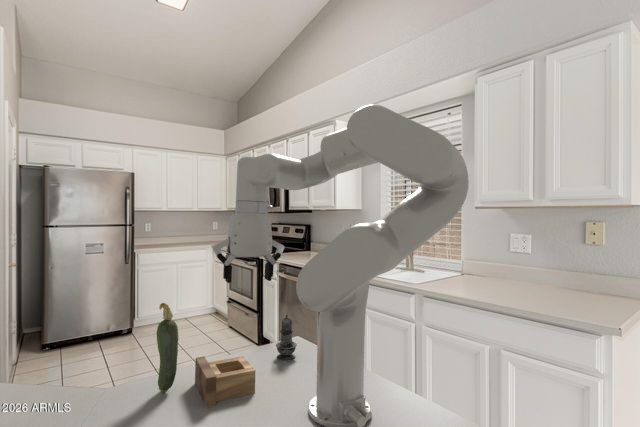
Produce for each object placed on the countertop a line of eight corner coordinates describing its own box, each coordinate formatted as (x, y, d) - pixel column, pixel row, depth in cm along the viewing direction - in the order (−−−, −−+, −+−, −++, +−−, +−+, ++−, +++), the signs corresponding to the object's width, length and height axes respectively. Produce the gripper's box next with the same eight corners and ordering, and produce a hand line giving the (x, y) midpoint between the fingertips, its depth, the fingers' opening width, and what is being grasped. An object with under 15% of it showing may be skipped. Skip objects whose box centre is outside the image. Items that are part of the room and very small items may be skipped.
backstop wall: (215, 405, 74) (216, 376, 74) (205, 407, 73) (206, 378, 73) (203, 381, 84) (204, 356, 84) (194, 383, 83) (195, 357, 83)
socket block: (254, 392, 79) (255, 370, 79) (214, 402, 75) (214, 378, 75) (242, 376, 87) (243, 356, 87) (205, 384, 83) (205, 362, 83)
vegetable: (180, 389, 80) (182, 300, 80) (170, 399, 76) (172, 305, 76) (161, 388, 80) (164, 299, 81) (150, 397, 76) (153, 304, 76)
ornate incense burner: (282, 352, 104) (283, 311, 104) (300, 355, 101) (301, 313, 101) (271, 359, 99) (272, 315, 99) (289, 363, 96) (290, 318, 96)
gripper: (279, 210, 92) (277, 276, 92) (211, 207, 84) (208, 279, 84) (290, 211, 85) (288, 282, 85) (217, 207, 78) (214, 286, 77)
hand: (248, 280), depth 85 cm, fingers open, 9 cm apart
